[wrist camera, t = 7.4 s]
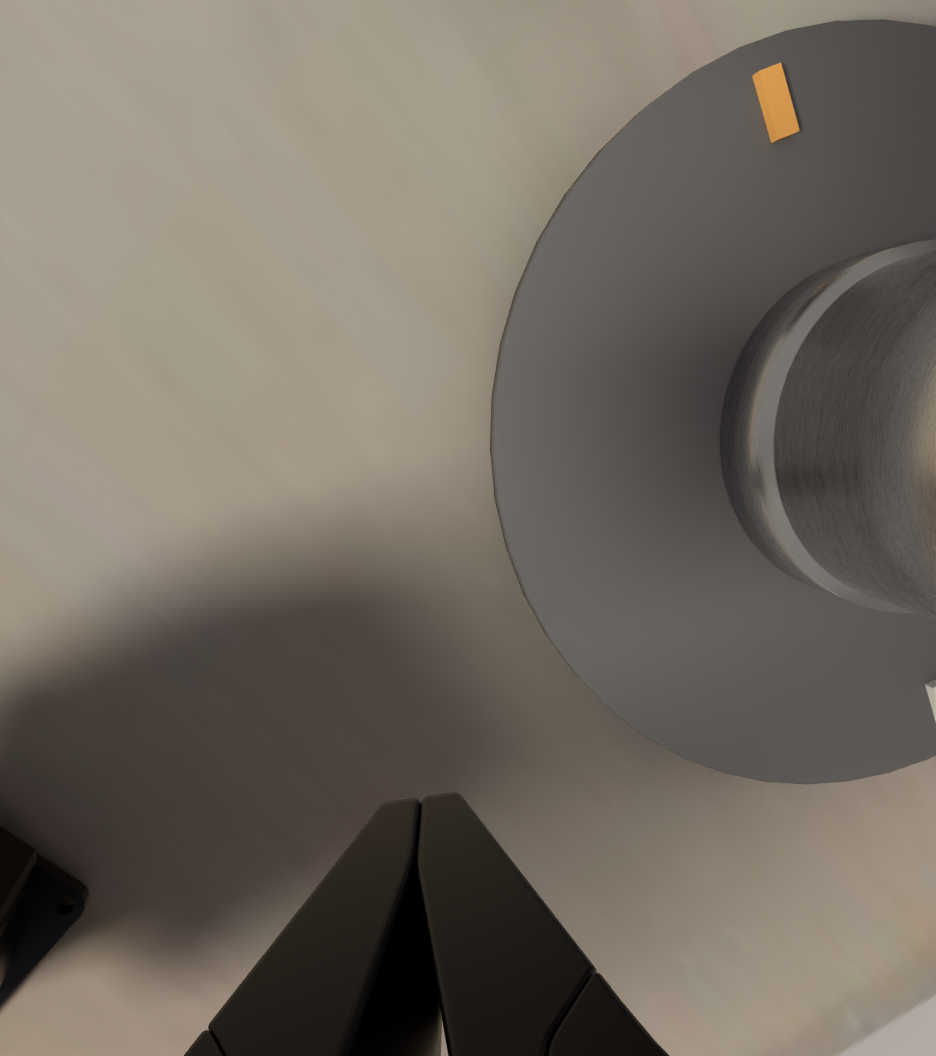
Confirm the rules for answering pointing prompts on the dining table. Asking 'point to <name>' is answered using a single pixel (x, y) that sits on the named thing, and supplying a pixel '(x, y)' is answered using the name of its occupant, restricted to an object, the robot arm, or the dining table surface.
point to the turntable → (712, 405)
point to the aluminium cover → (843, 431)
